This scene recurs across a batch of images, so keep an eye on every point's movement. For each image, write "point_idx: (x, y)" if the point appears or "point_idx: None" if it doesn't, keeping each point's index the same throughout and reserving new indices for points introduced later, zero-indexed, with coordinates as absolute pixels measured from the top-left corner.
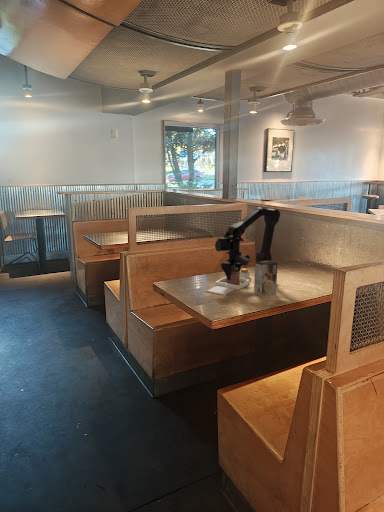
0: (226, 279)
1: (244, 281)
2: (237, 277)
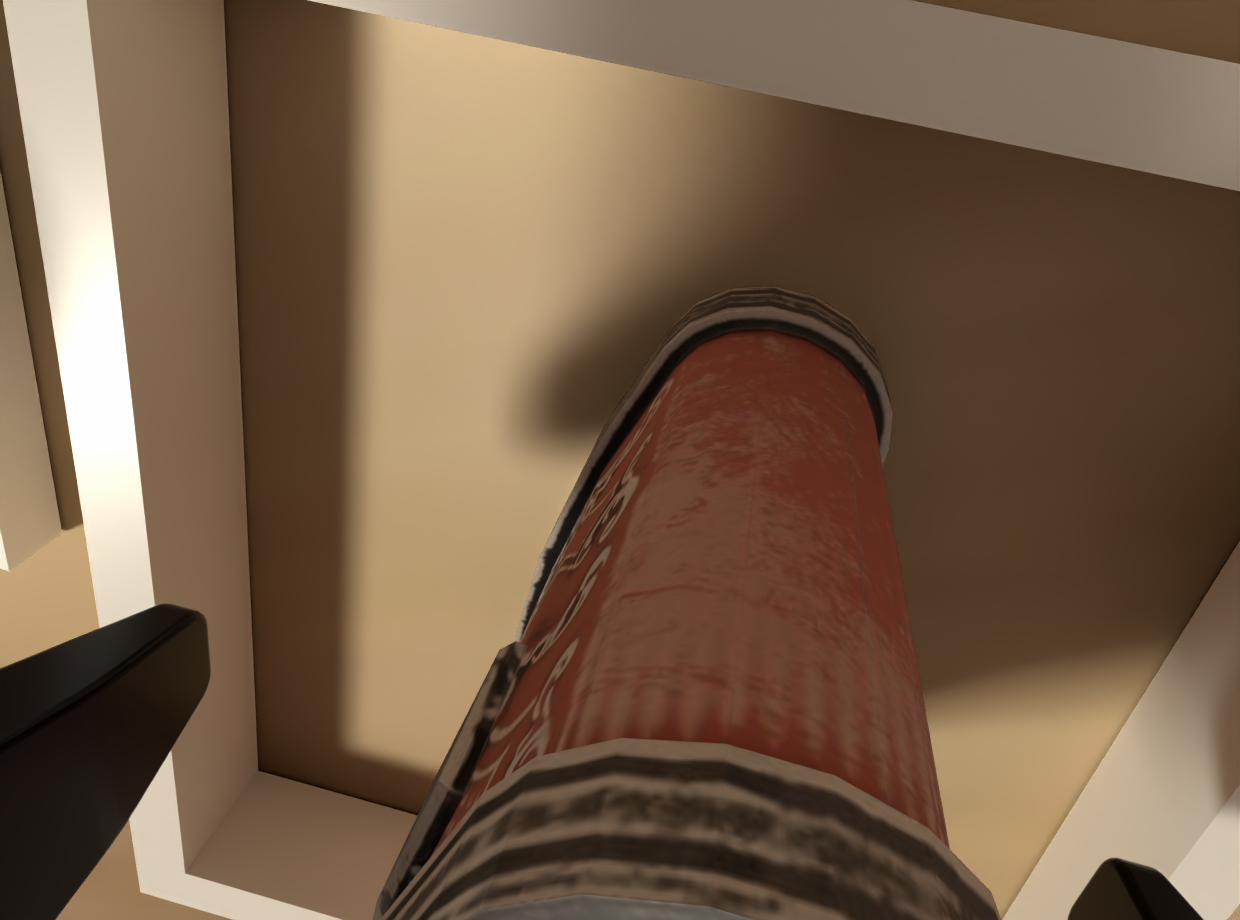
0: (342, 830)
1: (189, 173)
2: (906, 639)
